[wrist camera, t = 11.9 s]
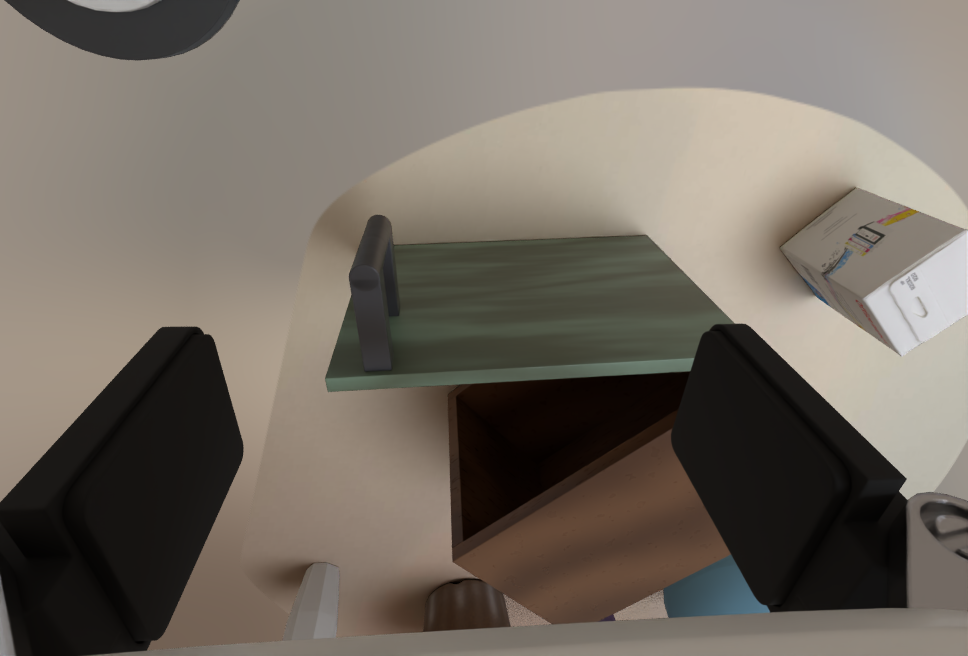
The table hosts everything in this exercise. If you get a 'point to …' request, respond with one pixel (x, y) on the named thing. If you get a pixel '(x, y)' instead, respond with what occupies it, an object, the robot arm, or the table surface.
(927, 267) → the ink box
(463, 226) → the table surface
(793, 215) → the table surface
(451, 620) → the plant pot
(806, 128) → the table surface
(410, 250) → the cupboard door
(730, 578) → the vase
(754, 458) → the robot arm
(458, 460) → the cupboard
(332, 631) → the low poly bottle
